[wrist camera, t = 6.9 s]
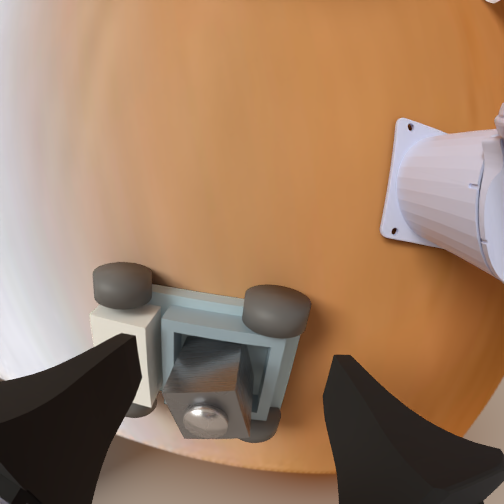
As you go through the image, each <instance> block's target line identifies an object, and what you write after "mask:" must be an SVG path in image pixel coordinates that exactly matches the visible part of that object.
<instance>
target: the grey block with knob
mask: <svg viewBox="0 0 504 504" xmlns="http://www.w3.org/2000/svg"><path fill="white" fill-rule="evenodd" d="M253 384H254V373H253V369H252V365H251V360H250V356H249V352H248V347H247V344H241V343H234V342H228V341H221V340H215V339H209V338H204V337H198V336H187V338H186V340H185V342H184V344H183V346H182V349H181V351H180V353H179V355H178V357H177V360H176V362H175V364H174V366H173V368H172V371H171V373H170V375H169V377H168V380H167V382H166V384H165V386H164V388H163V391H162V395H163V397H164V399H165V401H166V403H167V405H168V408H169V410H170V412H171V414H172V416H173V418H174V420H175V422H176V424H177V426H178V427H179V429H180V431H181V433H182V435H183V437H184V438H186V439H232V438H249V437H250V424H251V411H252V398H253Z"/></svg>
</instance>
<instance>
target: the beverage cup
mask: <svg viewBox="0 0 504 504" xmlns="http://www.w3.org/2000/svg"><path fill="white" fill-rule="evenodd" d="M486 1H487V2H490V3H496V2H498V1H500V0H486Z"/></svg>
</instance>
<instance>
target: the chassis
mask: <svg viewBox="0 0 504 504" xmlns="http://www.w3.org/2000/svg"><path fill="white" fill-rule="evenodd" d="M93 286H94V298H95V300H96V301H97V302H98V303H99V304H100V305H99V306H98V307H97V308H95V309H94V310H93V311H92V312H91V313H90V314H89V317H90V325H91V332H92V339H93V345H94V347H95V346H97V345H99V344H101V343H102V342H104V341H106V340H108V339H110V338H112V337H114V336H116V335H118V334H120V333H125V334H130V335H136V341H137V348H138V355H139V361H140V367H141V373H142V380H141V382H140V385H139V388H138V391H137V393H136V396H135V399H134V401H133V402H132V404H131V406H130V408H129V410H128V412H127V414H126V415H125V416H126V417H130V418H139V417H143V416H146V415H148V414H150V413H151V412H152V411H153V410H154V409H155V407H156V404H157V400H156V397H157V394H158V392H159V391H163V388H164V386H165V384H166V382H167V380H168V377H169V375H170V373H171V371H172V368H173V366H174V364H175V362H176V360H177V357H178V355H179V353H180V351H181V349H182V346H183V344H184V342H185V340H186V338H187V336H198V337H204V338H209V339H215V340H221V341H228V342H234V343H241V344H247V347H248V352H249V356H250V360H251V365H252V369H253V373H254V384H253V398H252V411H251V424H250V437H249V438H238V439H240V440H242V441H245V442H250V443H259V442H264V441H267V440H269V439H270V438H272V437H273V436H274V434H275V433H276V431H277V427H278V424H279V421H280V418H281V412H280V408H281V405H282V401H283V398H284V394H285V391H286V387H287V384H288V380H289V376H290V373H291V369H292V365H293V362H294V358H295V354H296V350H297V346H298V342H299V338H300V334H302V333H303V332H304V331H305V328H306V324H307V320H308V316H309V312H310V308H311V301H310V299H309V298H308V297H307V296H305V295H304V294H302V293H301V292H299V291H296V290H294V289H291V288H287V287H283V286H277V285H258V286H254V287H251V288H249V289H248V290H247V291H246V293H245V299H242V298H235V297H228V296H222V295H215V294H209V293H203V292H197V291H191V290H185V289H179V288H173V287H167V286H162V285H156V284H152V271H151V270H150V269H149V268H147V267H145V266H143V265H140V264H135V263H128V262H116V263H109V264H105V265H102V266H99V267H97V268H96V269H95V270H94V271H93ZM164 404H167V403H166V401H165V399H164Z"/></svg>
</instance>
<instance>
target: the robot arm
mask: <svg viewBox="0 0 504 504" xmlns="http://www.w3.org/2000/svg"><path fill="white" fill-rule="evenodd" d="M494 121H495V125H496V128H497V129H490V130H480V131H471V132H462V133H454V134H447V133H445V132H442V131H440V130H437V129H434V128H432V127H429V126H426V125H424V124H421V123H418V122H415V121H412V120H409V119H406V118H400V119H398V120H397V121H396V126H395V136H394V145H393V153H392V161H391V168H390V175H389V181H388V187H387V193H386V199H385V205H384V210H383V215H382V220H381V225H380V233H381V235H382V236H384V237H386V238H390V239H396V240H401V241H406V242H411V243H417V244H422V245H427V246H432V247H437V248H442V249H445V250H447V251H449V252H451V253H453V254H455V255H457V256H458V257H460V258H462V259H464V260H466V261H467V262H469V263H471V264H473V265H475V266H476V267H478V268H480V269H481V270H483V271H485V272H487V273H488V274H490V275H492V276H493V277H495V278H497V279H498V280H500V281H501V282H502V283H503V284H504V103H502V105H501V108H500V111H499V115H497V116H496V118H495V120H494ZM408 124H409V125H411V127H412V130H411V131H410V130H409V129H408ZM393 228H396V233H395V234H392V229H393ZM141 380H142V373H141V367H140V361H139V355H138V348H137V341H136V335H130V334H125V333H120V334H118V335H116V336H114V337H112V338H110V339H108V340H106V341H104V342H102V343H101V344H99V345H97V346H95V347H93V348H91V349H89V350H88V351H86V352H84V353H82V354H80V355H78V356H76V357H74V358H72V359H70V360H68V361H66V362H63V363H61V364H59V365H57V366H55V367H52V368H50V369H47V370H44V371H41V372H38V373H36V374H32V375H29V376H25V377H21V378H17V379H13V380H8V381H2V382H0V504H92V500H93V496H94V491H95V488H96V484H97V481H98V477H99V474H100V471H101V467H102V465H103V462H104V459H105V456H106V453H107V451H108V448H109V446H110V444H111V441H112V439H113V438H114V436H115V434H116V432H117V430H118V428H119V426H120V425H121V423H122V421H123V419H124V417H125V415H126V414H127V412H128V410H129V408H130V406H131V404H132V402H133V401H134V399H135V396H136V393H137V391H138V388H139V385H140V382H141ZM323 405H324V415H325V422H326V426H327V431H328V435H329V439H330V444H331V448H332V452H333V457H334V461H335V466H336V472H337V480H338V493H339V504H484V502H483V500H484V499H486V498H487V496H489V495H490V494H491V493H492V492H493V491H494V490H495V489H496V488H497V487H498V486H499V485H500V484H501V483H502V482H503V481H504V454H503V453H502V451H501V450H500V449H497V448H493V447H490V446H486V445H482V444H478V443H475V442H472V441H469V440H467V439H464V438H461V437H459V436H456V435H454V434H452V433H450V432H448V431H446V430H444V429H442V428H440V427H438V426H436V425H434V424H432V423H431V422H429V421H427V420H425V419H424V418H422V417H421V416H419V415H418V414H416V413H415V412H413V411H412V410H410V409H409V408H408V407H406V406H405V405H404V404H403V403H401V402H400V401H399V400H398V399H396V398H395V397H394V396H393V395H392V394H390V393H389V392H388V391H387V390H386V389H385V388H384V387H383V386H381V385H380V384H379V383H378V382H377V381H376V380H375V379H374V378H373V377H372V376H371V375H370V374H369V373H368V372H367V371H366V370H365V369H364V368H363V367H362V366H361V365H360V364H359V363H358V362H357V361H356V360H355V359H354V358H353V357H352V356H351V355H334V357H333V361H332V364H331V368H330V372H329V376H328V379H327V383H326V386H325V390H324V393H323Z"/></svg>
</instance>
